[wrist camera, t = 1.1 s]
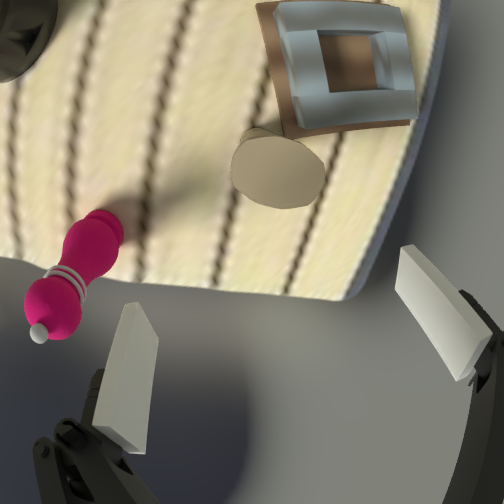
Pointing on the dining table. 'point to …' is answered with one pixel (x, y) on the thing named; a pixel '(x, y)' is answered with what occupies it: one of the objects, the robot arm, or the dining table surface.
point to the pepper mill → (72, 276)
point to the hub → (338, 65)
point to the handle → (276, 170)
